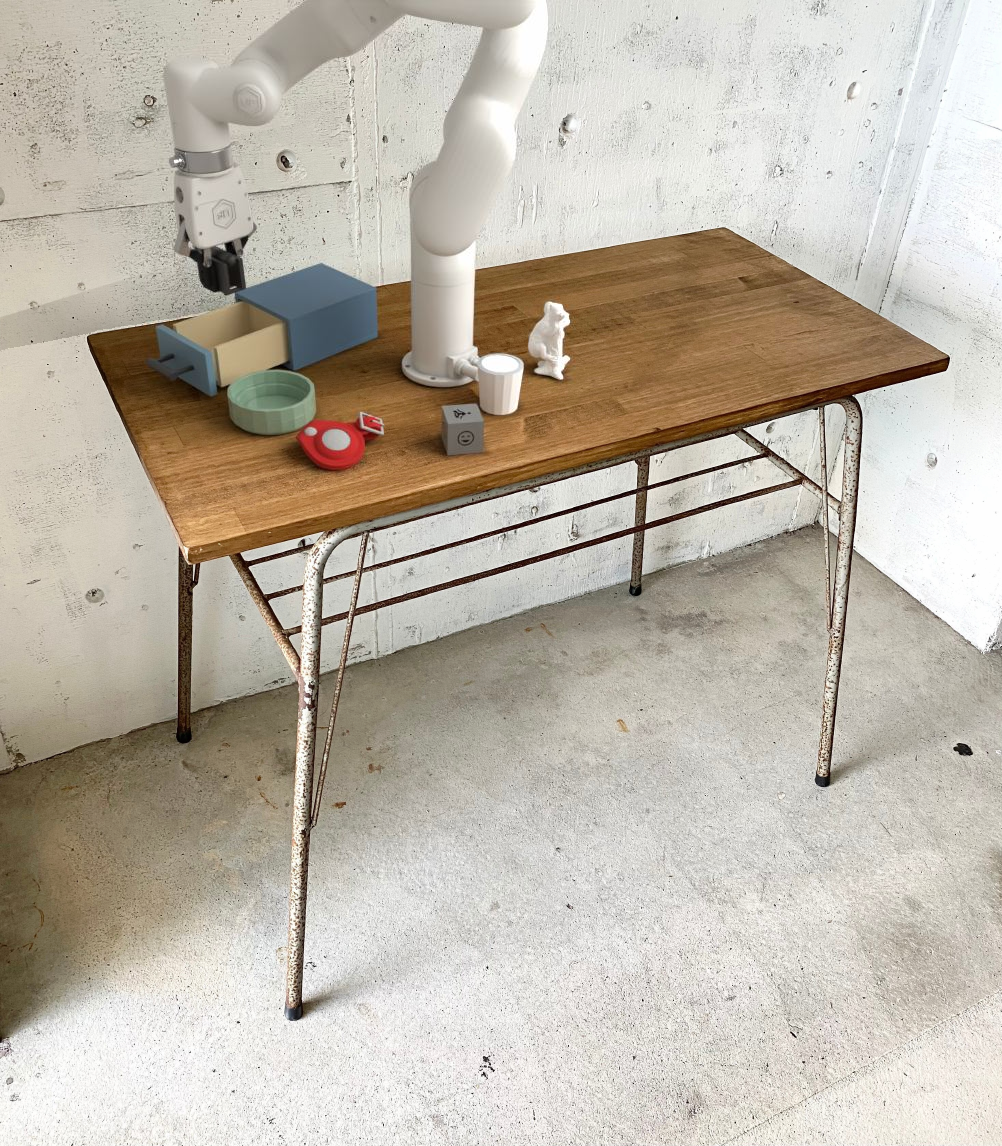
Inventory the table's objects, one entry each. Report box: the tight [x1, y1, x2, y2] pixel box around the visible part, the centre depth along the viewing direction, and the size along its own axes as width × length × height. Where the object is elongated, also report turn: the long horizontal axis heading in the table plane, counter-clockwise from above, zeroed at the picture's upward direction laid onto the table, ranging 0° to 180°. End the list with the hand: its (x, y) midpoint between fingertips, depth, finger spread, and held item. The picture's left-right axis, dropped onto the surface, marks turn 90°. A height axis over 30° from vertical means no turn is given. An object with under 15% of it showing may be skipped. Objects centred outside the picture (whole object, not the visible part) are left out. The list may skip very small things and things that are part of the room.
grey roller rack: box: [196, 246, 247, 297], centre depth 159 cm, size 7×3×6 cm, turn 47°
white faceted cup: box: [477, 352, 525, 416], centre depth 162 cm, size 7×7×7 cm
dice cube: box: [440, 403, 485, 456], centre depth 153 cm, size 5×5×5 cm
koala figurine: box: [527, 301, 571, 381], centre depth 170 cm, size 8×7×12 cm
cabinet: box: [234, 262, 379, 372], centre depth 176 cm, size 18×14×9 cm
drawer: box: [145, 300, 290, 397], centre depth 166 cm, size 21×12×7 cm, turn 138°
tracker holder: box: [295, 411, 385, 471], centre depth 152 cm, size 12×4×10 cm
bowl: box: [226, 369, 317, 436], centre depth 158 cm, size 12×12×4 cm
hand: (222, 284), depth 161 cm, fingers closed on grey roller rack, 3 cm apart
